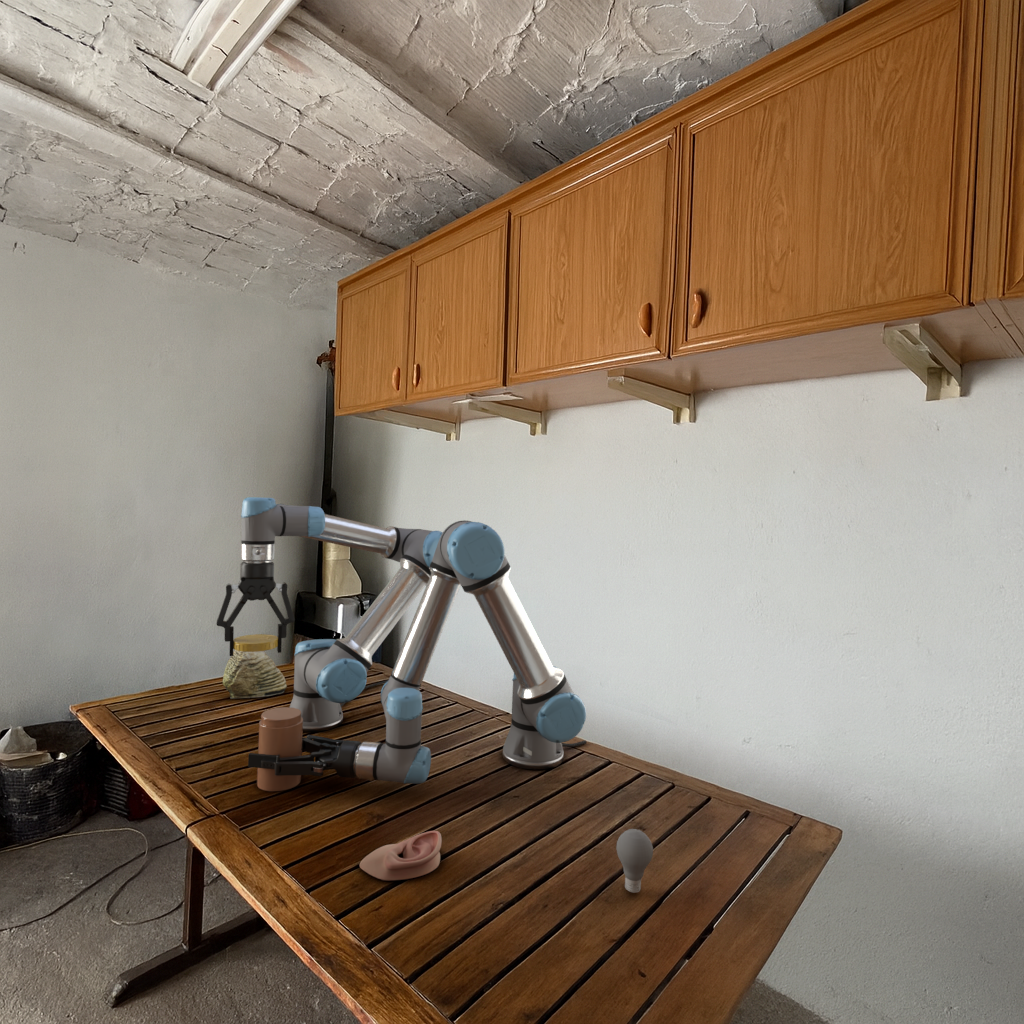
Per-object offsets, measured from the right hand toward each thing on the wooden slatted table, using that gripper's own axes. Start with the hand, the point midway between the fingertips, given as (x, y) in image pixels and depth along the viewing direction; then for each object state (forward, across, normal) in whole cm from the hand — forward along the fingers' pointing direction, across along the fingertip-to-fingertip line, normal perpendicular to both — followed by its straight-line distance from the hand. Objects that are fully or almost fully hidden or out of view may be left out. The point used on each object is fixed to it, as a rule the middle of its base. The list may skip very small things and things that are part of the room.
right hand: (260, 750), depth 140 cm
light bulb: (-79, -26, -6) cm, 84 cm away
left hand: (+9, +12, +18) cm, 24 cm away
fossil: (+31, +55, -6) cm, 63 cm away
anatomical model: (-39, -26, -6) cm, 47 cm away
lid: (+9, +12, +21) cm, 26 cm away
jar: (-4, 0, -6) cm, 8 cm away
